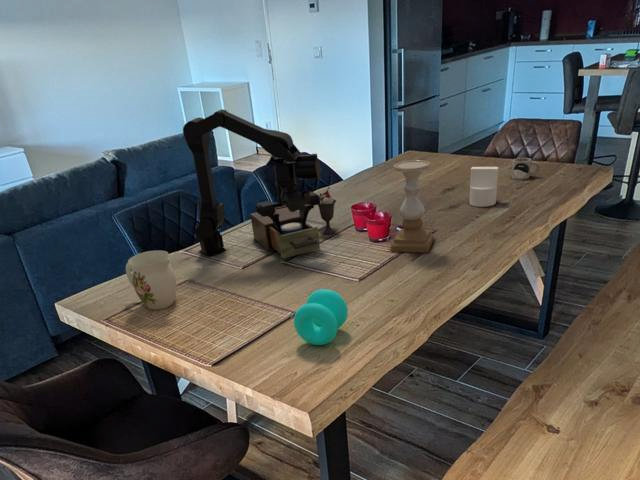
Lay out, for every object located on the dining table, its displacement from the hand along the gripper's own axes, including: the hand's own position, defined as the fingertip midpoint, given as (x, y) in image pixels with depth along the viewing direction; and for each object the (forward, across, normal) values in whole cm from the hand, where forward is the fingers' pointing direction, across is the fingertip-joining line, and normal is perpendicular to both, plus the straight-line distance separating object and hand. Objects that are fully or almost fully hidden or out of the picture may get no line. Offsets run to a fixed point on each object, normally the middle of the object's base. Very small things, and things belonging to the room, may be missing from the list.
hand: (291, 231), depth 173 cm
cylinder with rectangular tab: (+6, +72, 0) cm, 73 cm away
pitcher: (+6, -45, -13) cm, 47 cm away
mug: (+6, +105, +15) cm, 106 cm away
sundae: (+6, +16, +9) cm, 20 cm away
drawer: (+5, 0, -2) cm, 6 cm away
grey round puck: (+1, 0, 0) cm, 1 cm away
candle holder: (+6, +31, -19) cm, 37 cm away
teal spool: (+6, -15, -54) cm, 57 cm away
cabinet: (+6, 0, +12) cm, 13 cm away
